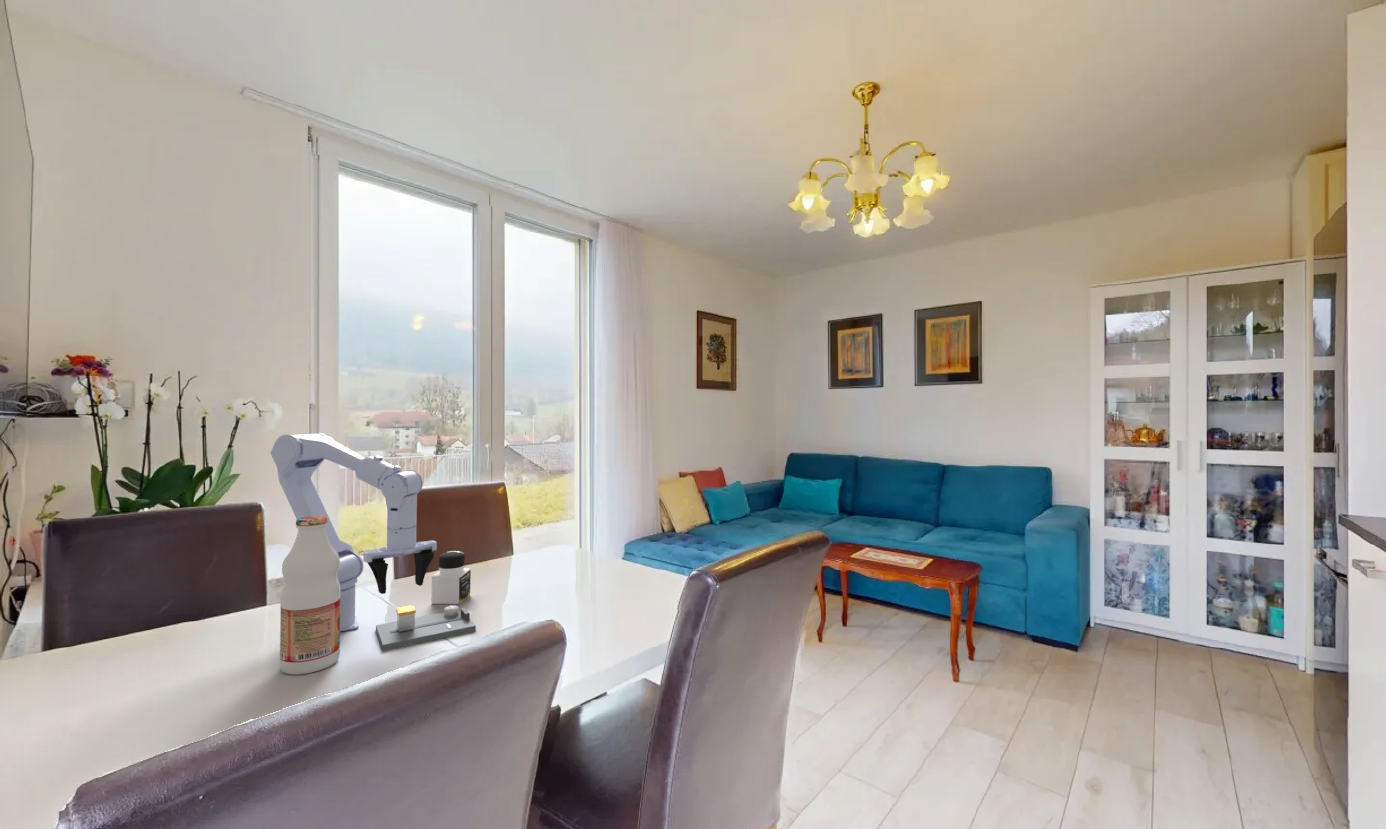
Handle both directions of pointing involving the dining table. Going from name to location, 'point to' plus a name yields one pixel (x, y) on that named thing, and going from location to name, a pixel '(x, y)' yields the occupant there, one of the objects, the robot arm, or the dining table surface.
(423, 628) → the console board
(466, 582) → the medicine bottle
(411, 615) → the fader tab
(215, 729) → the dining table surface
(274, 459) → the robot arm
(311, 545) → the fruit juice
